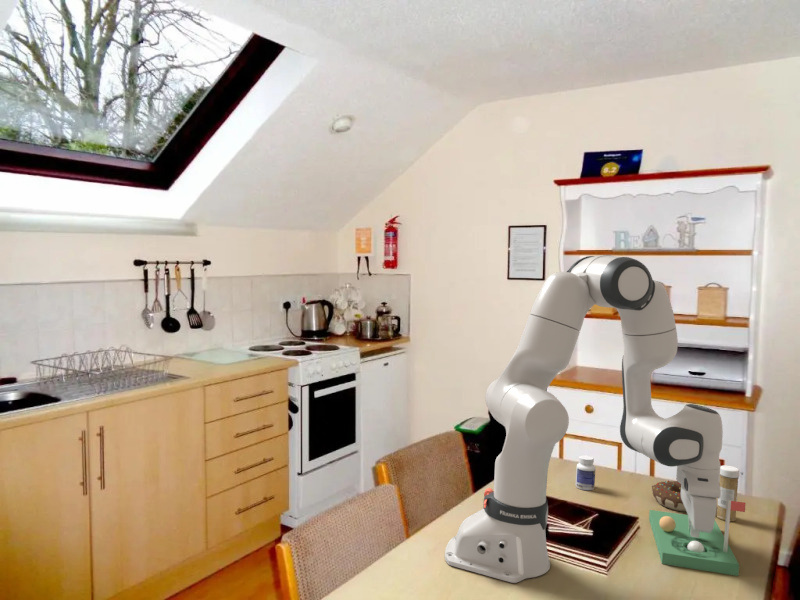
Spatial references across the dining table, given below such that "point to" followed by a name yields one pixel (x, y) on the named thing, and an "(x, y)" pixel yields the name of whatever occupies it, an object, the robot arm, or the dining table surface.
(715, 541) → the putting mat
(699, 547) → the white ball
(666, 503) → the donut
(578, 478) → the pill bottle
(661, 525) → the orange ball
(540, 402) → the robot arm
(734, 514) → the sprinkles bottle
